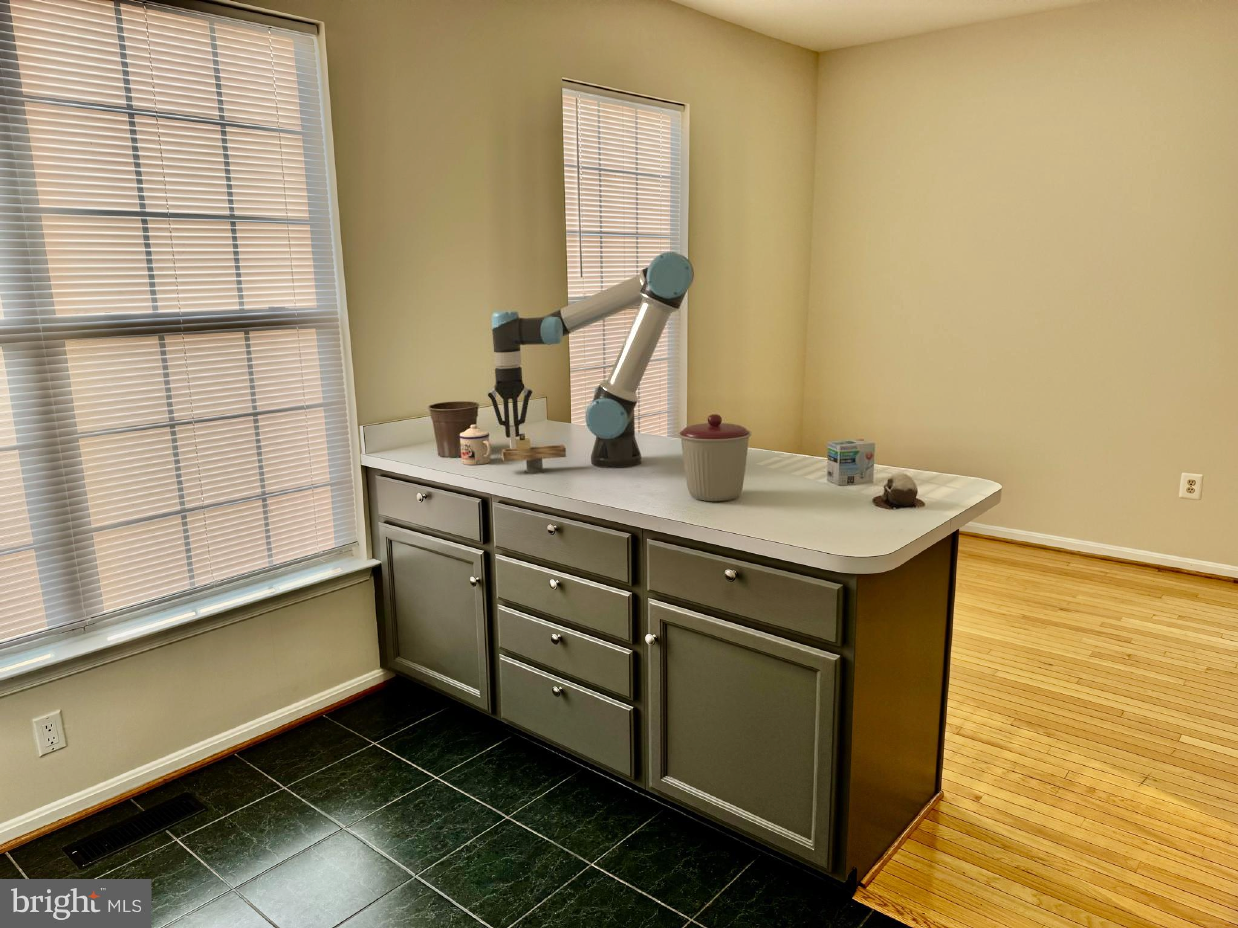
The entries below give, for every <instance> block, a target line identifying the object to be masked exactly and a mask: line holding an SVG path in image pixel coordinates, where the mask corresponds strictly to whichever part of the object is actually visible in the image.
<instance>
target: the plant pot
mask: <svg viewBox="0 0 1238 928" xmlns="http://www.w3.org/2000/svg"><path fill="white" fill-rule="evenodd" d="M479 407H480V403H479V402H477V401H471V400H470V401H468V400H467V401H465V400H464V401H463V400H461V401H460V400H459V401H458V400H457V401H444V402H436V403H433V404H429V405H428V406H427V409H428V410H429V415H430V419H431V420H432V426H433V432H434V438H435V439H434V440H435V444H436V450H437V455H438V456H439V457H440V458H445V457H450V458H449V459H452V458H451V457H459V458H461V442H460V437H459V436H460V433H462V432H465V431H466V430H467V429H470V428H471V427H470V426H471V425H477V421H478V416H479ZM477 426H478V425H477Z"/></svg>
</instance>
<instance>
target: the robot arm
mask: <svg viewBox="0 0 1238 928" xmlns="http://www.w3.org/2000/svg"><path fill="white" fill-rule="evenodd" d="M694 272H695V271H694V268H693V265H692V263H691V261H690V260H689V258H687V257H686V256H684V255H682V254H681V253H677V252H674V251H673V252H672V251H667V252H663V253H660V254H658V255H657V256H655V258H654V259H653V260H651V262H650V263H649V265H648V266H647V267H645V268H643V269H641V271H640V273H639V274H637V275H636V276H633V277H631V278H629V279H626V280H624V281H622V282H619V283H618V284H615V285H612V286H611V287H608V288H606V289H604V290H601V291H599V292H596V293H595V294H592V295H590V296H588V297H585V298H583V299H581V300H578V301H577V302H573V303H571V304H570V305H567V306H564V307H563V308H561V309H558V310H555V311H553V312H551V313H548V314H545V315H543V316H540V317H539V316H538V317H537V316H536V317H520V316H519V312H518V311H517V310H516V311H515V310H503V311H502V310H501V311H494V312H493V314H492V315H491V331H492V344H493V358H494V361H493V362H494V366H495V369H494V375H495V384H494V388H493V389H492V390H491V391H488V392H487V394H486V395H487V396H488V398H489V400H490V401H491V403H492V406H493V411H494V412H495V416H496V419H497V423H498V424H499V425H500V426H504V428H505V429H504V431H505V437H506V438H507V439H508V438H509V448H511V449H516V439H517V438H519V434H520V425H523V424H525V423H526V418H527V412H528V408H529V401H530V397H531V396H532V394H533V391H532V389H530V388H527V387H526V386H525V384H524V382H523V369H522V367H521V365H522V356H521V355H522V353H521V346H526V345H527V346H529V345H531V346H534V345H541V346H542V345H543V346H544V345H548V346H551V345H558V344H561V342H562V341H563V340H562V339H563V337H565V336H567V335H570V334H571V333H574V332H577V331H579V330H581V329H584V328H586V327H588V326H591V325H593V324H595V323H598V322H600V321H602V320H605V319H607V318H609V317H612V316H614V315H617V314H619V313H621V312H624V311H626V310H628V309H631V308H632V307H635V306H637V305H639V307H638V308H637V311H636V315H635V316H634V318H633V320H632V323H631V325H630V328H629V330H628V332H627V334H626V337H625V339H624V341H623V344H622V346H621V348H620V351H619V353H618V355H617V358H616V360H615V362H614V364H613V367H612V369H611V371H610V374H609V375H608V378H607V380H605V381H602V382H600V383H599V384H598V386H597V387H595V389H594V394H593V399H592V401H591V403H589V405H588V406H587V409H586V410H585V423H586V427H587V428H588V430H589V432H591V434H592V435H594V436H595V441H594V444H593V448H592V450H591V455H590V464H591V465H592V466H595V467H598V468H609V469H611V468H627V467H628V468H629V467H632V466H637V465H640V464H641V463H642V453H641V451H640V448H639V445H638V442H637V439H636V430H635V429H636V428H635V427H636V426H635V408H636V405H637V403H638V400H639V399H638V396H637V390H638V389H639V385H640V383H641V381H642V379H643V377H644V374H645V372H646V370H647V369H648V368H647V367H648V366H649V363H650V361H651V359H652V356H653V354H654V353H655V350H656V347H657V345H658V343H659V341H660V338H661V337H662V334H663V332H664V329H665V328H666V325H667V322H668V321H669V319H670V316H671V314H673V313H674V312H677V311H679V309H680V307H681V305H682V303H683V301H684V299H685V296H686V294H687V293H688V290H689V288H691V286H692V284H693V281H694V276H695V275H694V274H695V273H694ZM497 394H498V395H499V396H500V398H501V399H502V401H503V402H502V403H503V417H504V418H503V417H502V414H501V411H500V408H499V405H498V402H497V399H496V398H497ZM521 394H523V401H522V406H521V411H520V417H519V408H518V407H519V406H518V402H519V401H518V398H519V397H520V396H521ZM509 400H511V404H512V416H513V418H512V419H513V425H510V408H509V407H510V406H509V402H510V401H509ZM503 419H504V420H503Z"/></svg>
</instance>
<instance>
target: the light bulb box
mask: <svg viewBox="0 0 1238 928" xmlns="http://www.w3.org/2000/svg"><path fill="white" fill-rule="evenodd" d="M875 449H876V443H875V442H872V441H869V440H867V439H865V438H857V439H856V438H855V439H842V440H833V441H827V461H826V462H827V465H826V466H827V467H826V481H827V482H830V483H832V484H835V485H836V486H846V485H847V486H849V485H858V484H859V485H861V484H873V483H874V476H875V475H874V471H875Z"/></svg>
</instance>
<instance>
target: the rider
mask: <svg viewBox="0 0 1238 928" xmlns="http://www.w3.org/2000/svg"><path fill="white" fill-rule="evenodd" d="M530 447H531V439H530V438H529V437H527V438H526V434H525V433H524V432H523V433H519V437H518V438H516V449H515V450H516V451H521V450H530Z"/></svg>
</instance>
